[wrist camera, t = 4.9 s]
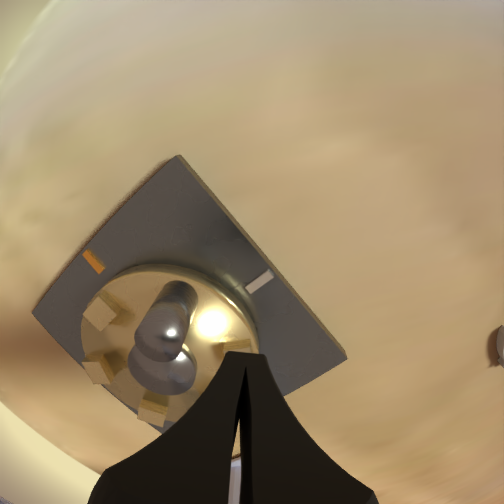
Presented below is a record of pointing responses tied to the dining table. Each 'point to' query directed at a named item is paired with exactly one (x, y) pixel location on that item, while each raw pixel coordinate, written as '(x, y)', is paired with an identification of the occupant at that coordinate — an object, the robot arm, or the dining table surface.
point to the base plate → (199, 259)
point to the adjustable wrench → (500, 345)
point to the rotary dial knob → (162, 337)
